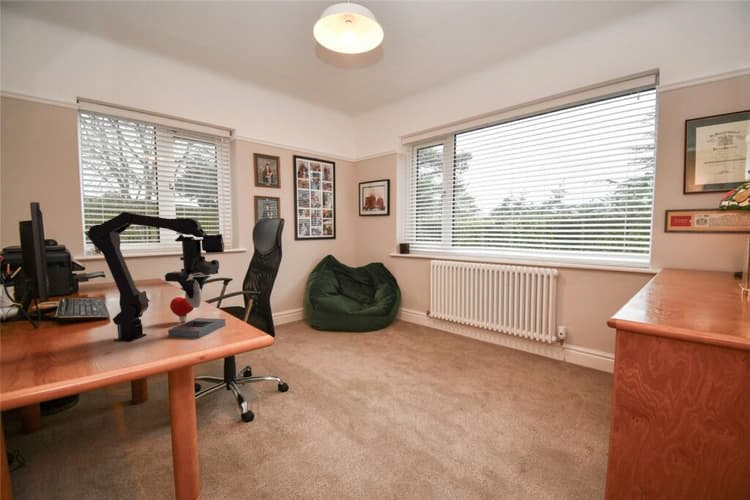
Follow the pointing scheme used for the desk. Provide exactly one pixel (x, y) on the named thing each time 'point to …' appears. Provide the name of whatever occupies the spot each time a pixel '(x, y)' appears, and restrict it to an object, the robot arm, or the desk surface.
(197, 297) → the pale grey rock
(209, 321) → the socket block
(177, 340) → the desk surface
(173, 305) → the light bulb
